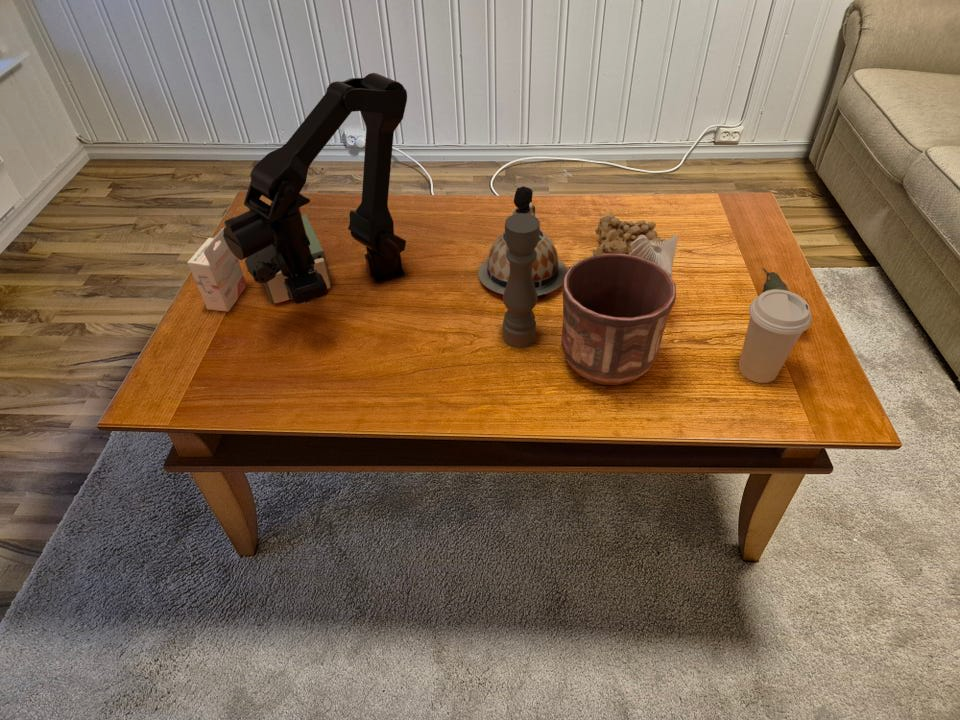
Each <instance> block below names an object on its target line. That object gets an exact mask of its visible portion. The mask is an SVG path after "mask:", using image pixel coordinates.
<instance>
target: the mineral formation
mask: <svg viewBox="0 0 960 720" xmlns="http://www.w3.org/2000/svg"><path fill="white" fill-rule="evenodd" d="M655 228H656V222H654V221H648V222H646V220H644V219H643V220H642V219H641V220H638V221H637V222H633V221H632V220H630V221H628V220H623V221H621V220H620V219H619V217H615V215H613V214H611V213H606V215H601V216H600V217H599V221H598V222H597V227H596V228H595V230H594V232H595V234H596V235H598V241H599V242H600V245H598V246H597V248H596V249H595V250H593V251H592V256H595V255H600V254H627V255H629V254H630V253H631V252H632V249H631V247H630V245H631V243H632V242H633V241H635V240H636V239H638V237H639V236H640V235H645V236H646V237H647V239H648V240H649V241H650V240H651V241H652V242H653V243H654V241H655V242H656V244H657V248H658V243H659V244H660V242H661V241H662V243H663V241H664V240H665V241H667V239H666V238H663V239H661V237H660V236H658V232H657V231H656V230H655ZM644 259H645V258H644Z"/></svg>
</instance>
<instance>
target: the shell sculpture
mask: <svg viewBox="0 0 960 720" xmlns="http://www.w3.org/2000/svg"><path fill="white" fill-rule="evenodd" d="M665 240H666V241H665ZM665 240H664V241H663V243H662V241H661V242H660V244H659V243H658V248H657V244H656V242H655V241H654V243H653V242H652V241H651V240H650V241H649V240H648V239H647V237H646V236H645V235H640V236H639V237H638V239H636V240H635V241H633V242H632V243H631V245H630V247H631V249H632V252H631V253H630V254H629V255H632V256H637V257H641V258H643V259H644V258H645V259H646V260H648V261H651V262H653V263H656V264H657V265H658V266H660V267H661V268H662V269H663V270H665V271H666V272H667V273H669V275H670V276H671V278H672V279H673V263H674V259H675V255H676V252H677V249H678V248H677V247H678V241H679V235H678V234H675V235H674V236H671V238H667V239H665Z"/></svg>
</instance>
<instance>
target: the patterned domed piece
mask: <svg viewBox="0 0 960 720" xmlns="http://www.w3.org/2000/svg"><path fill="white" fill-rule="evenodd" d="M533 194H534V191H533V190H532V188H530V187H527V186H523V185H521V186H520V187H517V188H516V190H515V193H514V195H513V204H514V206H515V207H516V208H515V209H514V210H513V211H512V213H511V214H512V215H514V214H519V213H526V214H530V215H534V216H535V217H536V206H535V205H534V203H533ZM491 245H492V246H491V247H490V249H489V253H488V258H487V259H485V260H484V261H483V262H482V263H481V264H480V266H479V268H478V273H477V274H478V279H479V281H480V282H481V284H482V285H483V286H485V287H486V288H487V289H489V290H490V291H493V292H495V293H497V294H501V295H504V291H505V288H506V284H507V281H508V278H509V274H510V262H509V261H508V260H507V258H506V252H507V250H508V249H509V248H508V246H507V244H506V242H505V231H504V232H502V233H500V234H499V235H498V236H497V237H496V238H495V240H494V242H493V243H492V244H491ZM535 250H536V252H537V258H536V260H535V261H534V262H533V263H532V276H533V280H534V284H535V288H536V292H537V297H538V296H540V298H541V299H544V298H545V297H546V296H547V295H548V294H549V293H552V292H554V291H556V290H557V289H559V288H560V287H562V286H563V280H564V276H565V274H566V273H567V271H568V267H567V266H566V265H565V263H564V262H563V261H562V260H561V259H560V258H559V256H558V251H557V248H556V246H555V244H554V241H552V239H551V238H550V236H549V235H548V234H547V233H545V232H544V231H543V230H541V229H540V231H539V242H538V243H537V246H536V247H535Z"/></svg>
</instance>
